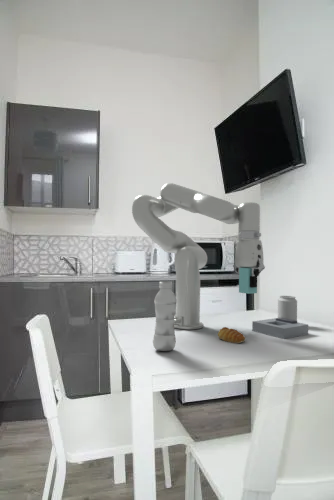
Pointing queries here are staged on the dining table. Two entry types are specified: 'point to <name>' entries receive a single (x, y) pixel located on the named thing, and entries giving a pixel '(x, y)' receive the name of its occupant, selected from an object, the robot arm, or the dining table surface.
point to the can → (287, 307)
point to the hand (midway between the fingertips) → (247, 286)
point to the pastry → (231, 335)
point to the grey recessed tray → (280, 327)
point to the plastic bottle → (165, 317)
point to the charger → (245, 281)
